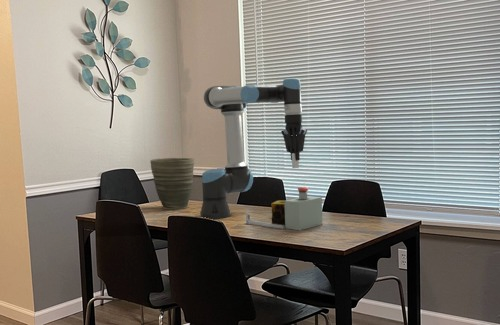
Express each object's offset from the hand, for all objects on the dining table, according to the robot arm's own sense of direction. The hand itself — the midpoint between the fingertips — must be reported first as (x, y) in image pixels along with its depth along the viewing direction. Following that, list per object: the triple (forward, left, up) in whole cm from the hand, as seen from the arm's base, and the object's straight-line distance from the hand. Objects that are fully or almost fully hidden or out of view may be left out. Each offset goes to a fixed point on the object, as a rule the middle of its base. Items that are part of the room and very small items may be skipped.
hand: (295, 167), depth 248 cm
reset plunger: (+4, 0, -17) cm, 17 cm away
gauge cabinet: (+4, 0, -26) cm, 26 cm away
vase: (-89, +2, -26) cm, 93 cm away
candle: (-7, 0, -26) cm, 27 cm away
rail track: (-11, 0, -26) cm, 28 cm away
